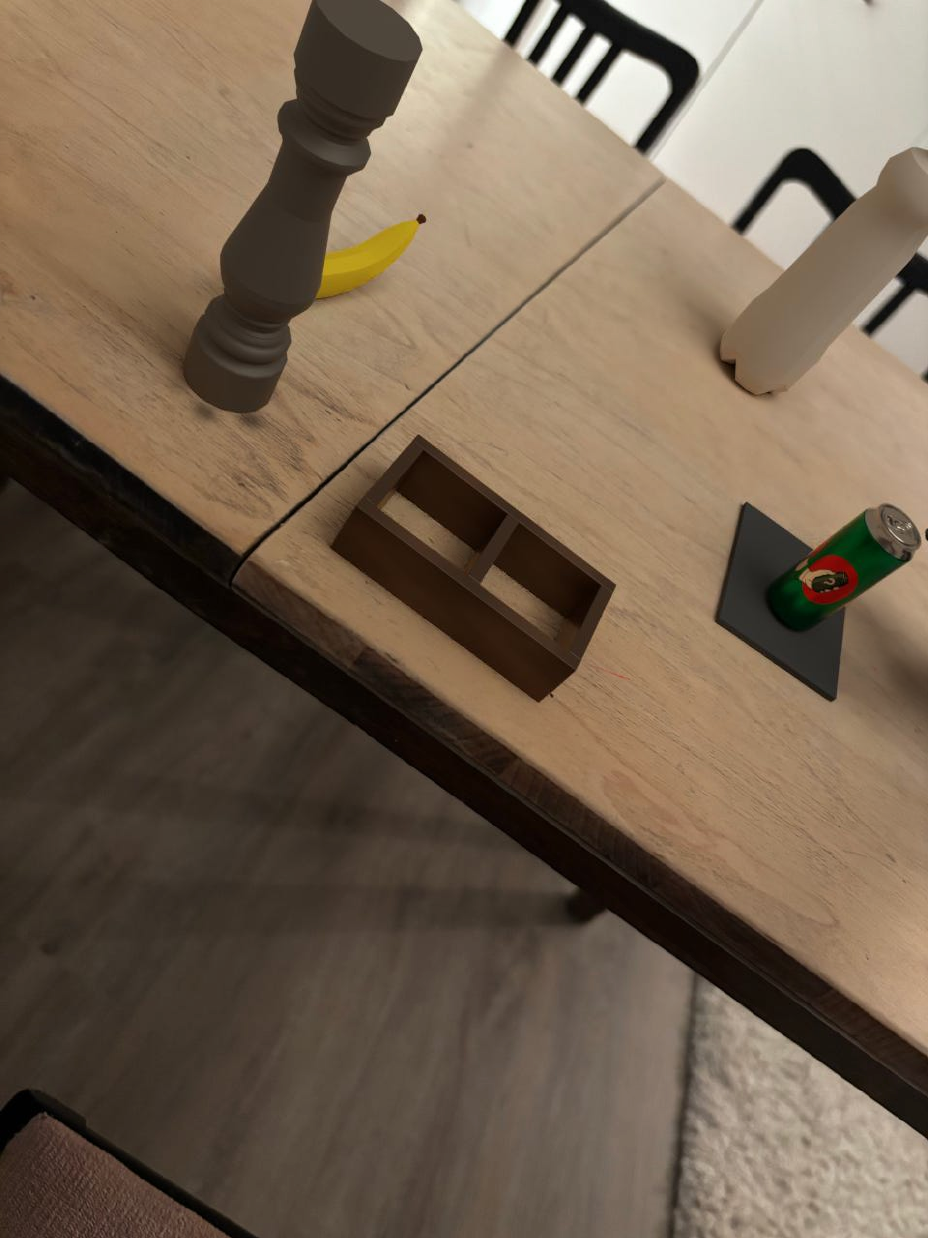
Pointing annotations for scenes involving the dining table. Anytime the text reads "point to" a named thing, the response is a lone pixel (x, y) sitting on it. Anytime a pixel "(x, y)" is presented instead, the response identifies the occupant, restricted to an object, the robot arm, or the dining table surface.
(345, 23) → the candle holder
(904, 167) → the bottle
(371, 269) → the banana
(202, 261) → the dining table surface
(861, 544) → the soda can
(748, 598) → the table mat
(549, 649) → the can rack
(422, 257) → the dining table surface
